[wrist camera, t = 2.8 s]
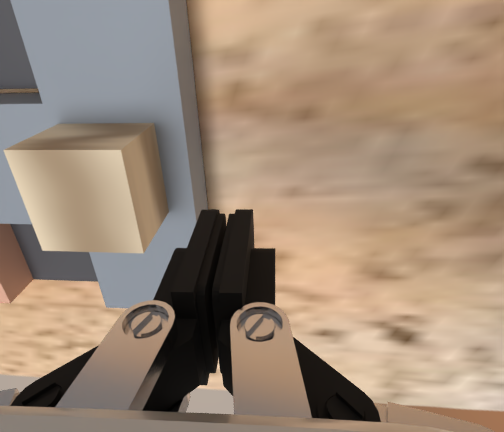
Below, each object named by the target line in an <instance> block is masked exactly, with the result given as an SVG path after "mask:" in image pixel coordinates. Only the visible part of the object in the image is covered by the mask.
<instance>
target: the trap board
mask: <svg viewBox="0 0 504 432" xmlns="http://www.w3.org/2000/svg"><path fill="white" fill-rule="evenodd" d="M26 88H38V90H39V93H0V303H11V302H12V301H13V300H14V299H15V298H16V297H17V296H18V295H19V294H20V293H21V292H22V291H23V290H24V289H25V287H26V286H27V285H28V284H29V283H30V282H31V281H32V280H33V279H43V280H71V281H98V282H99V286H100V289H101V292H102V295H103V298H104V302H105V305H106V307H110V308H130V307H131V306H133V305H135V304H138V303H140V302H144V301H149V300H153V299H154V297H155V294H156V292H157V290H158V287H159V285H160V283H161V280H162V278H163V276H164V273H165V271H166V269H167V266H168V264H169V262H170V259H171V257H172V255H173V252H174V250H175V249H176V248H187V246H188V244H189V241H190V238H191V236H192V233H193V230H194V228H195V225H196V222H197V220H198V217H199V215H200V212H201V210H208V203H207V194H206V184H205V175H204V165H203V156H202V146H201V137H200V127H199V118H198V108H197V99H196V89H195V80H194V70H193V60H192V51H191V41H190V32H189V22H188V13H187V3H186V0H0V89H26ZM93 123H154V126H155V132H156V138H157V144H158V150H159V155H160V161H161V167H162V173H163V179H164V185H165V191H166V197H167V203H168V209H169V213H168V214H167V216H166V218H165V219H164V221H163V223H162V224H161V226H160V228H159V229H158V231H157V232H156V234H155V236H154V237H153V239H152V241H151V242H150V244H149V246H148V247H147V249H146V251H145V252H144V254H143V253H108V252H72V251H42V248H41V245H40V243H39V240H38V238H37V235H36V233H35V230H34V227H33V225H32V222H31V220H30V217H29V215H28V212H27V210H26V207H25V204H24V202H23V199H22V197H21V194H20V192H19V189H18V186H17V184H16V181H15V179H14V176H13V174H12V171H11V168H10V166H9V163H8V161H7V158H6V156H5V153H4V149H7V148H9V147H11V146H13V145H15V144H17V143H19V142H21V141H23V140H25V139H27V138H30V137H32V136H34V135H36V134H38V133H40V132H42V131H44V130H46V129H48V128H50V127H53V126H55V125H57V124H93Z"/></svg>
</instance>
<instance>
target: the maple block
mask: <svg viewBox="0 0 504 432" xmlns="http://www.w3.org/2000/svg"><path fill="white" fill-rule="evenodd" d="M4 153H5V156H6V158H7V161H8V163H9V166H10V168H11V171H12V174H13V176H14V179H15V181H16V184H17V186H18V189H19V192H20V194H21V197H22V199H23V202H24V204H25V207H26V210H27V212H28V215H29V217H30V220H31V222H32V225H33V227H34V230H35V233H36V235H37V238H38V240H39V243H40V245H41V248H42V251H72V252H108V253H143V254H144V252H145V251H146V249H147V247H148V246H149V244H150V242H151V241H152V239H153V237H154V236H155V234H156V232H157V231H158V229H159V228H160V226H161V224H162V223H163V221H164V219H165V218H166V216H167V214H168V213H169V209H168V203H167V197H166V191H165V185H164V179H163V173H162V167H161V161H160V155H159V150H158V144H157V138H156V132H155V126H154V123H93V124H57V125H55V126H53V127H50V128H48V129H46V130H44V131H42V132H40V133H38V134H36V135H34V136H32V137H30V138H27V139H25V140H23V141H21V142H19V143H17V144H15V145H13V146H11V147H9V148H7V149H4Z"/></svg>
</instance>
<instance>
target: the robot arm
mask: <svg viewBox="0 0 504 432" xmlns="http://www.w3.org/2000/svg"><path fill="white" fill-rule="evenodd" d="M218 357H219V364H220V372H221V373H222V377H223V385H224V387H225V388H226V389H227V390H228V391H229V392H230V393H231V395H232V396H233V399H234V415H231V414H209V413H186V410H187V407H188V405H189V401H190V392H191V391H193V390H194V389H195V388H197V387H198V386H199V385H207V383H208V378H209V373H216V369H217V363H218ZM0 432H494V431H492V430H491V429H488V428H486V427H483V426H481V425H478V424H475V423H471V422H467V421H463V420H459V419H455V418H451V417H447V416H443V415H439V414H435V413H431V412H427V411H423V410H419V409H415V408H411V407H407V406H403V405H399V404H395V403H391V402H388V404H387V406H384V405H380V404H376V403H373V401H372V400H371V399H370V398H369V397H368V396H367V395H366V394H365V393H364V392H363V391H362V390H360V389H359V388H358V387H356V386H355V385H354V384H353V383H351V382H350V381H349V380H348V379H346V378H345V377H344V376H342V375H341V374H340V373H339V372H337V371H336V370H335V369H333V368H332V367H331V366H330V365H328V364H327V363H326V362H325V361H323V360H322V359H321V358H319V357H318V356H317V355H316V354H314V353H313V352H312V351H310V350H309V349H308V348H307V347H305V346H304V345H303V344H302V343H300V342H299V341H298V340H296V339H295V338H294V337H293V336H292V331H291V327H290V323H289V320H288V317H287V315H286V314H285V313H284V311H283V310H282V309H281V308H279V307H277V306H275V249H264V248H254V225H253V210H236V211H235V214H229V218H228V222H227V226H226V217H225V214H220V213H219V210H201V212H200V215H199V217H198V220H197V222H196V225H195V228H194V230H193V233H192V236H191V238H190V241H189V244H188V246H187V248H176V249H175V250H174V252H173V255H172V257H171V259H170V262H169V264H168V266H167V269H166V271H165V273H164V276H163V278H162V280H161V283H160V285H159V287H158V290H157V292H156V294H155V297H154V299H153V300H149V301H144V302H140V303H138V304H135V305H133V306H131V307H130V308H128V309H127V310H125V311H124V312H123V314H122V315H121V316H120V317H119V318H118V320H117V321H116V322H115V324H114V325H113V327H112V328H111V329H110V331H109V332H108V334H107V335H106V336H105V338H104V339H103V341H102V342H101V343H100V345H99V346H97V347H95V348H93V349H91V350H90V351H88V352H86V353H84V354H83V355H81V356H79V357H77V358H75V359H74V360H72V361H70V362H68V363H67V364H65V365H63V366H61V367H59V368H58V369H56V370H54V371H52V372H51V373H49V374H47V375H45V376H43V377H42V378H40V379H38V380H36V381H35V382H33V383H32V384H30V385H29V386H27V387H26V388H25V389H24V390H23V391H22V392H18V390H17V389H16V388H14V389H8V390H3V391H0Z"/></svg>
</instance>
